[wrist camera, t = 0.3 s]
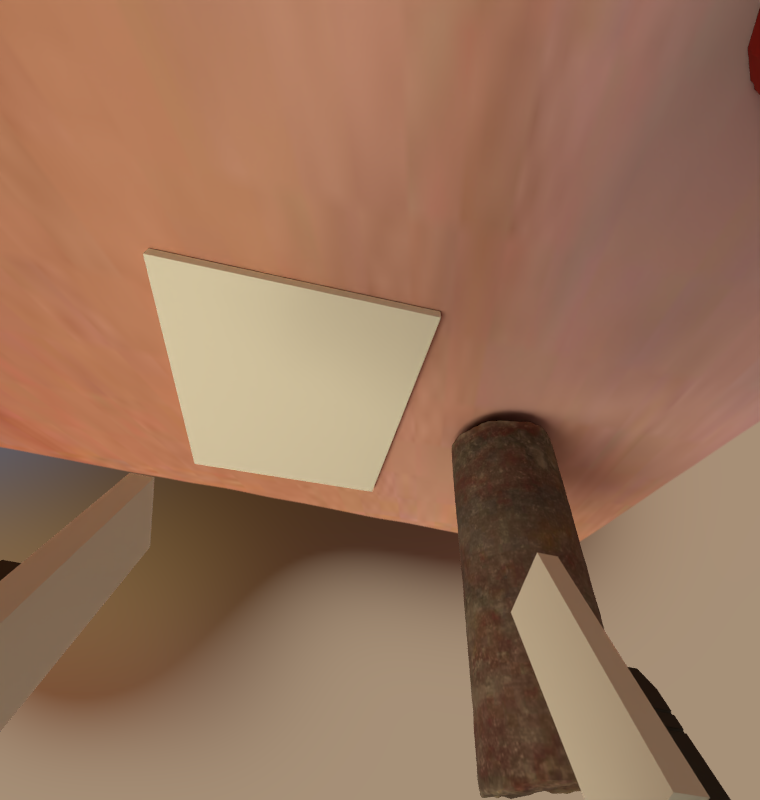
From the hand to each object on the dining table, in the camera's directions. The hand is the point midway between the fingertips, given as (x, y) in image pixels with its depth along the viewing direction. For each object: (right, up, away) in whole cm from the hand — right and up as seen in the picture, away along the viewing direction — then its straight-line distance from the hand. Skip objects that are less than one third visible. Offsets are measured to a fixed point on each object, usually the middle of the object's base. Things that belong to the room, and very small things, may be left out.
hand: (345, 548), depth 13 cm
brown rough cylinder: (+10, +2, +17) cm, 20 cm away
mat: (-5, +5, +15) cm, 17 cm away
